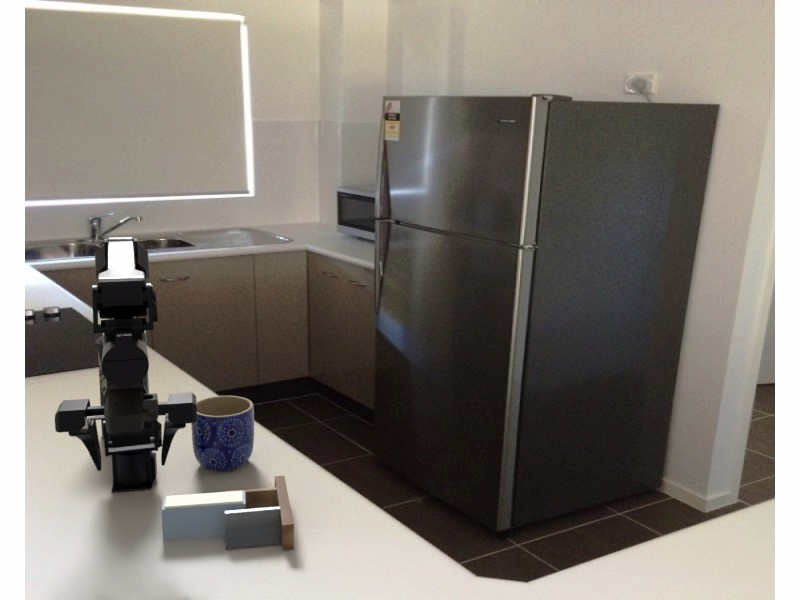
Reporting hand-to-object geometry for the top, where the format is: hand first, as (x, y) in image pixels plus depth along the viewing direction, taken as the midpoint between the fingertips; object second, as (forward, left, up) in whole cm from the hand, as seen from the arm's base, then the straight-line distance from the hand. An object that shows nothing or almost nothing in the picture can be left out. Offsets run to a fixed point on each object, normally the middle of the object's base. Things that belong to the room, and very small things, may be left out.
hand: (131, 467), depth 110 cm
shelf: (+17, 0, -11) cm, 20 cm away
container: (-6, +41, -11) cm, 43 cm away
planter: (+13, +23, -11) cm, 29 cm away
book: (+10, 0, -11) cm, 15 cm away
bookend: (+17, -5, -11) cm, 21 cm away
